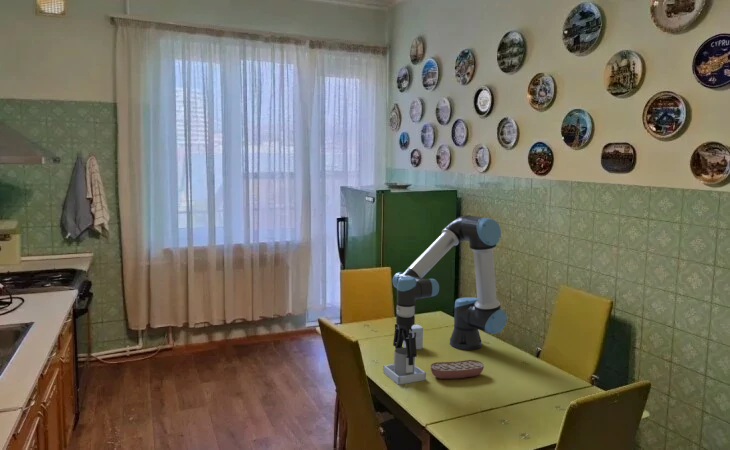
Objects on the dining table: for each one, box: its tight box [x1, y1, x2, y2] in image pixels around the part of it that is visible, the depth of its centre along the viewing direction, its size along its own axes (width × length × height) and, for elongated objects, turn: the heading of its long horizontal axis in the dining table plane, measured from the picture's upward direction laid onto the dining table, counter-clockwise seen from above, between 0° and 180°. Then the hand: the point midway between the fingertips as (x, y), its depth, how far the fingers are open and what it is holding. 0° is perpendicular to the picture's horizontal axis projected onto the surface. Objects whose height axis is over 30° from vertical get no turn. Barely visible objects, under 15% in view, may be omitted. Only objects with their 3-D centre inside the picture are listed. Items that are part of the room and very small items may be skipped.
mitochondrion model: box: [430, 359, 485, 380], centre depth 228 cm, size 23×10×5 cm, turn 104°
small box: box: [402, 324, 424, 350], centre depth 260 cm, size 8×6×10 cm
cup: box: [393, 347, 416, 377], centre depth 226 cm, size 8×8×10 cm
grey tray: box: [382, 363, 427, 386], centre depth 227 cm, size 13×14×3 cm
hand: (404, 368), depth 227 cm, fingers closed on cup, 8 cm apart
